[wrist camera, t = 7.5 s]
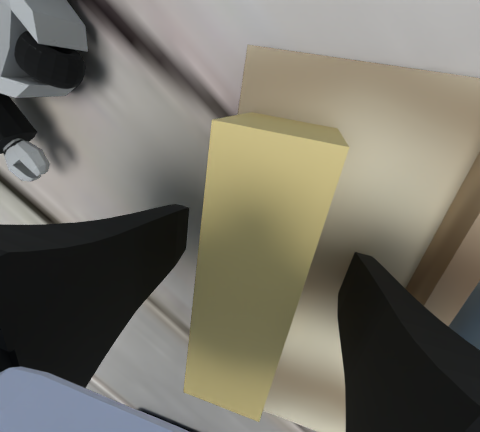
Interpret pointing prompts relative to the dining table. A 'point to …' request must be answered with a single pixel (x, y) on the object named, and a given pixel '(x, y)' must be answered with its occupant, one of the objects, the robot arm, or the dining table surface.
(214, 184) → the yellow rectangular block
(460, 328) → the blue notched block
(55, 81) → the robot toy
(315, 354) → the jig
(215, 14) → the dining table surface
